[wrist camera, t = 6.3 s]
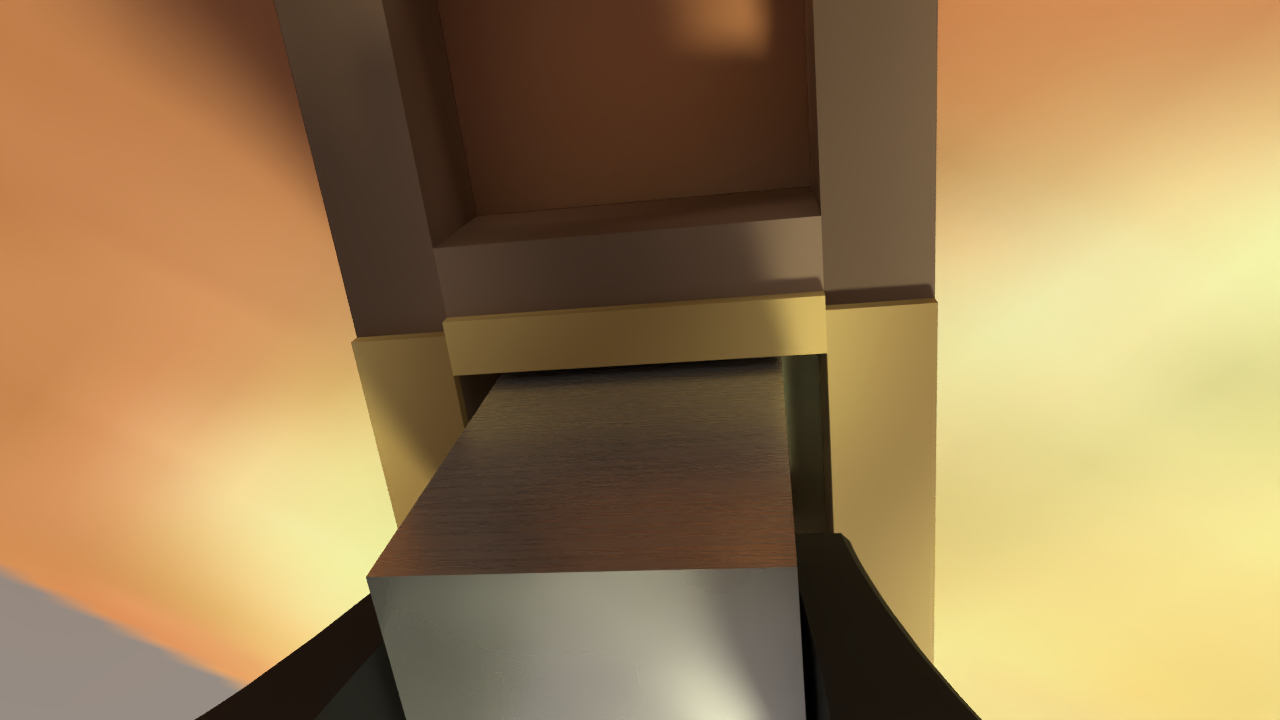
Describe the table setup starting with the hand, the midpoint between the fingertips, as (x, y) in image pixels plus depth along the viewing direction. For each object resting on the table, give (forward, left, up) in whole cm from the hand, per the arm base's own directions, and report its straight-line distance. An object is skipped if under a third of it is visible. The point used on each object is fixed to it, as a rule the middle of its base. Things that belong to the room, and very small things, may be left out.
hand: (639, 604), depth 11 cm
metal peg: (0, 0, -3) cm, 3 cm away
